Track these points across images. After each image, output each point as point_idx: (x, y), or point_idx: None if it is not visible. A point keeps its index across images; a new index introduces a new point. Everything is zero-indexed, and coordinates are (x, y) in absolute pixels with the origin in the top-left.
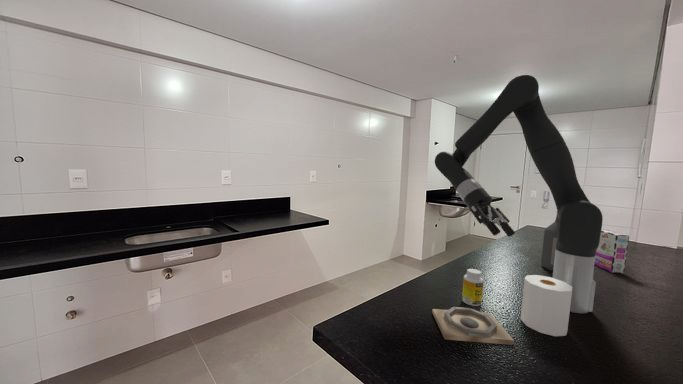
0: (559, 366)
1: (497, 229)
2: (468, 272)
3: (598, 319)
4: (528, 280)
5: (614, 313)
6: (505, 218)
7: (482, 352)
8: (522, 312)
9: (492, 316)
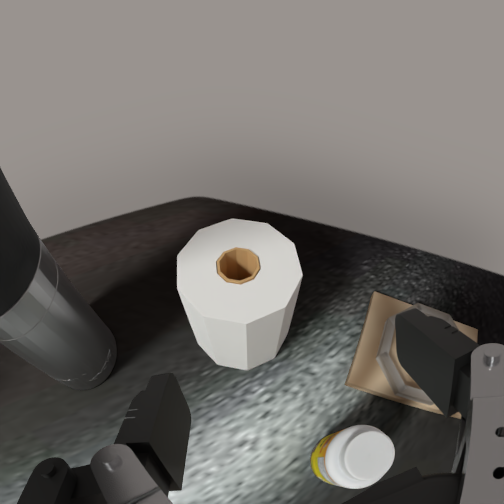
0: (338, 245)
1: (422, 317)
2: (393, 454)
3: (96, 299)
4: (287, 292)
5: None
6: (60, 496)
7: (432, 295)
8: (279, 344)
9: (354, 367)
